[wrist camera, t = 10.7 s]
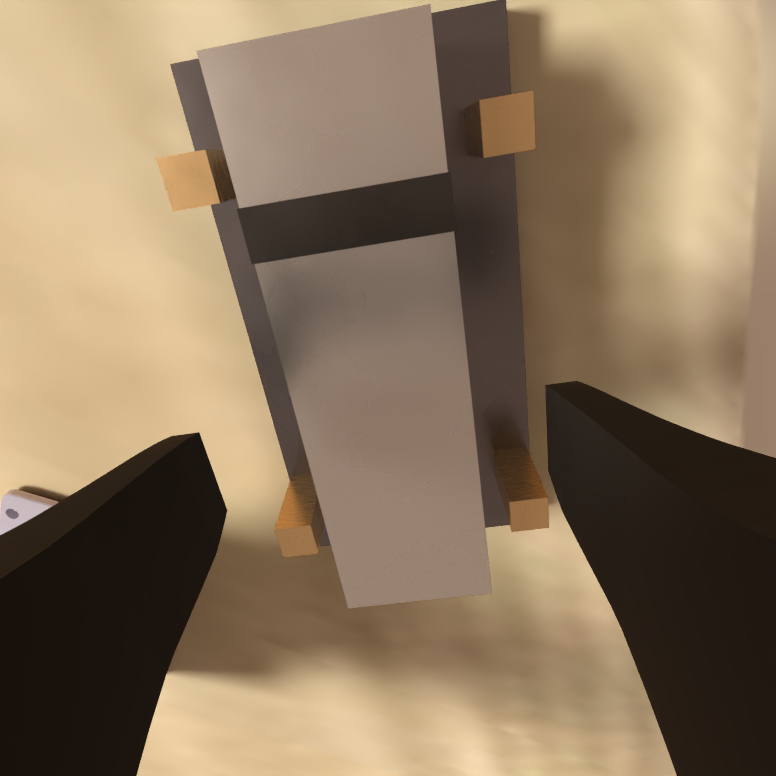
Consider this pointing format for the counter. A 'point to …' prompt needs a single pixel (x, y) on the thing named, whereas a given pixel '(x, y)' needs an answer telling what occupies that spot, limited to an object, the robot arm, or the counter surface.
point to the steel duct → (362, 290)
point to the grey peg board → (474, 258)
